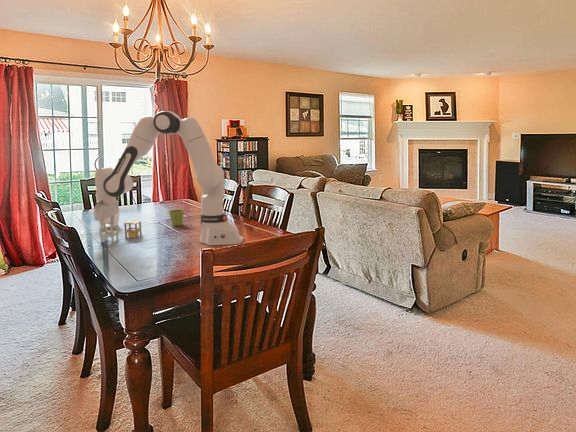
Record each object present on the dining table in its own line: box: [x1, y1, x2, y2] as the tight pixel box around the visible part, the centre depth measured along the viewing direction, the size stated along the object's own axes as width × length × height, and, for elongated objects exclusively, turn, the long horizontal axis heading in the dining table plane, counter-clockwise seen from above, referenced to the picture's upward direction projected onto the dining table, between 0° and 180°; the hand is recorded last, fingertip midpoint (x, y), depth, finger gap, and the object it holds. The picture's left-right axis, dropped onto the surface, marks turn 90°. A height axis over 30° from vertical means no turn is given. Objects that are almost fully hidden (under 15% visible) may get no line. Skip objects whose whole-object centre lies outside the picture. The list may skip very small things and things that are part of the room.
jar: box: [104, 200, 120, 229], centre depth 253 cm, size 11×10×15 cm
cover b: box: [98, 224, 119, 243], centre depth 221 cm, size 6×6×8 cm
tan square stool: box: [123, 220, 143, 239], centre depth 229 cm, size 6×6×8 cm
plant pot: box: [168, 209, 185, 227], centre depth 258 cm, size 9×9×9 cm
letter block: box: [127, 229, 140, 239], centre depth 230 cm, size 4×4×4 cm
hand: (107, 225), depth 220 cm, fingers open, 8 cm apart
